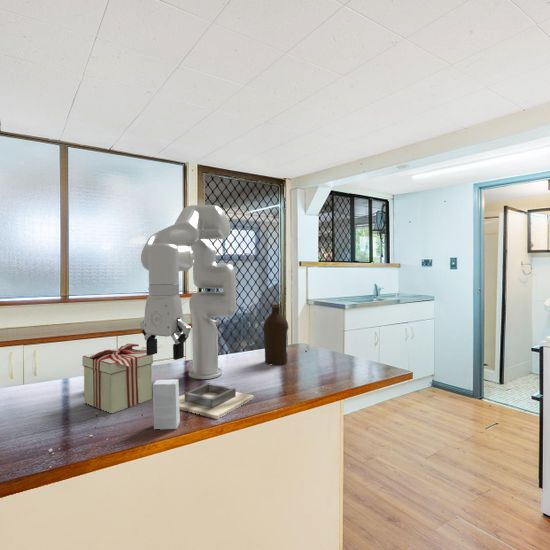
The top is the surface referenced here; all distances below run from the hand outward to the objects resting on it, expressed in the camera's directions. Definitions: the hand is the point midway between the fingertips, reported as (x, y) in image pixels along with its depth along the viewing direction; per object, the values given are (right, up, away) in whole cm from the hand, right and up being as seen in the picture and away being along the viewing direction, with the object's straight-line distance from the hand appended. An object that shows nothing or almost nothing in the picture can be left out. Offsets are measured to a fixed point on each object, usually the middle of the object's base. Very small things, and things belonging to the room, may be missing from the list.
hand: (165, 356), depth 100 cm
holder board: (+9, -18, +18) cm, 27 cm away
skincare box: (0, -19, +1) cm, 19 cm away
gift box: (-18, -18, +19) cm, 32 cm away
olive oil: (+29, -16, +63) cm, 71 cm away
